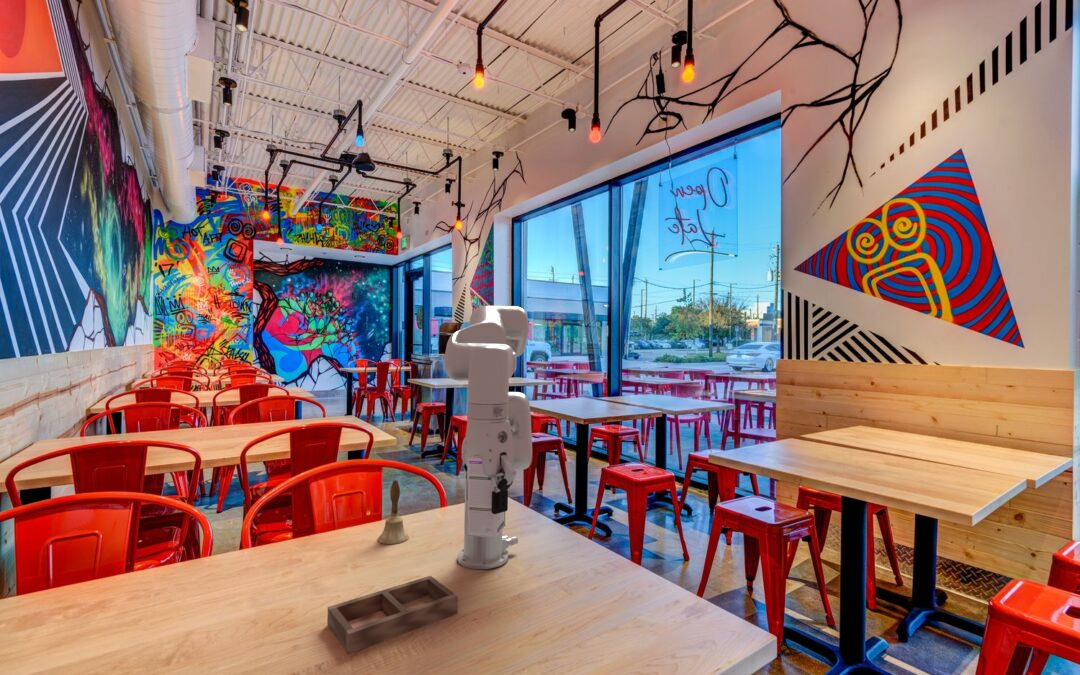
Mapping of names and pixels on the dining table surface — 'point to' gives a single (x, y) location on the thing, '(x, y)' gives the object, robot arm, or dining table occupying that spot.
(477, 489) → the syrup box
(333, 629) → the rack
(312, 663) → the dining table surface
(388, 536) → the hand bell
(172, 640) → the dining table surface
